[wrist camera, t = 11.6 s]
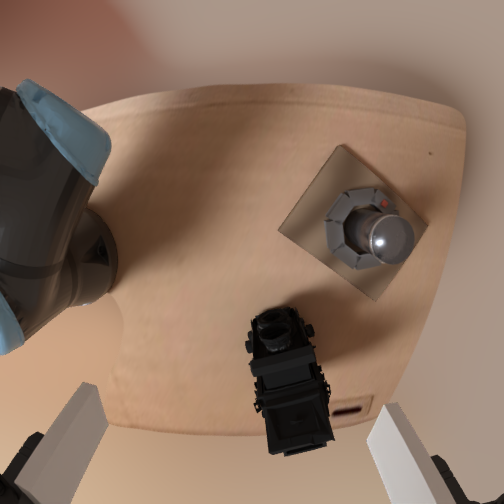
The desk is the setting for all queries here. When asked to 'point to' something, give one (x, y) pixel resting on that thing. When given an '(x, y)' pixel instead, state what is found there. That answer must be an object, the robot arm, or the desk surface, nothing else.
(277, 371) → the camera
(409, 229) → the lens
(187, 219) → the desk surface
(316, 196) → the mount board
